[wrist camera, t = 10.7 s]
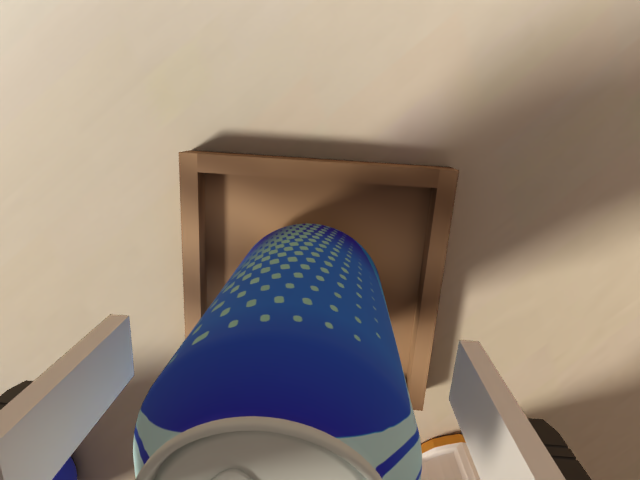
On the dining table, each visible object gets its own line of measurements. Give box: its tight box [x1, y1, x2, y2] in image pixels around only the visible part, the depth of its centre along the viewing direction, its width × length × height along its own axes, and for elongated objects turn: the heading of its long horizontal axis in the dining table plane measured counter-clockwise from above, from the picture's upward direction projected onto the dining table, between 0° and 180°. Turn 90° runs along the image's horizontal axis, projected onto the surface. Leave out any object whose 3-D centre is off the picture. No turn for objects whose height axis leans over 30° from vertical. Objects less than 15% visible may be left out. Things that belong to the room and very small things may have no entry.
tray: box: [179, 150, 459, 411], centre depth 25 cm, size 15×15×2 cm
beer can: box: [133, 223, 422, 480], centre depth 17 cm, size 8×8×16 cm
